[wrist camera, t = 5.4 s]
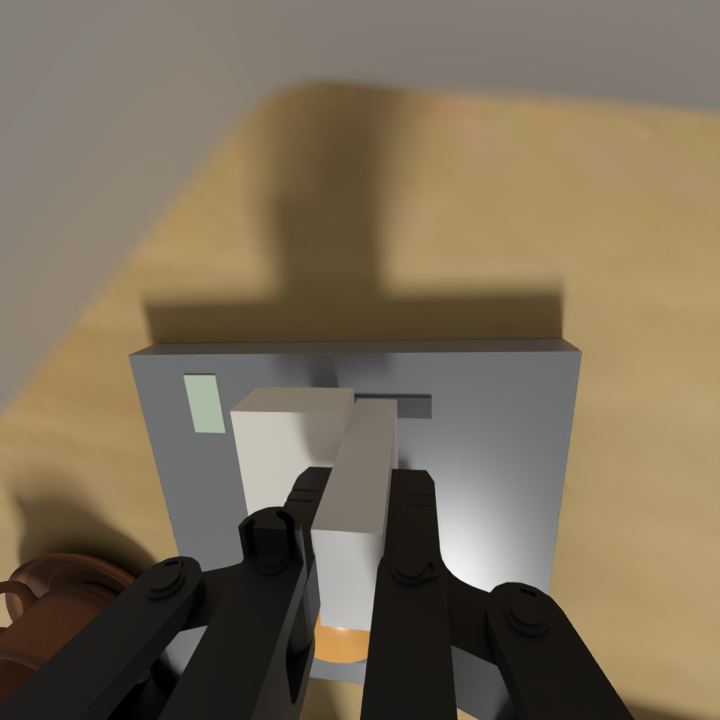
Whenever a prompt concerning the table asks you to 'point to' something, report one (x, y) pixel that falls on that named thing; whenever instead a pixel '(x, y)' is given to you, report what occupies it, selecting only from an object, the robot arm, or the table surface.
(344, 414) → the off-white rectangular box
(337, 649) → the amber button
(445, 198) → the table surface
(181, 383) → the control panel
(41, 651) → the cup and saucer
